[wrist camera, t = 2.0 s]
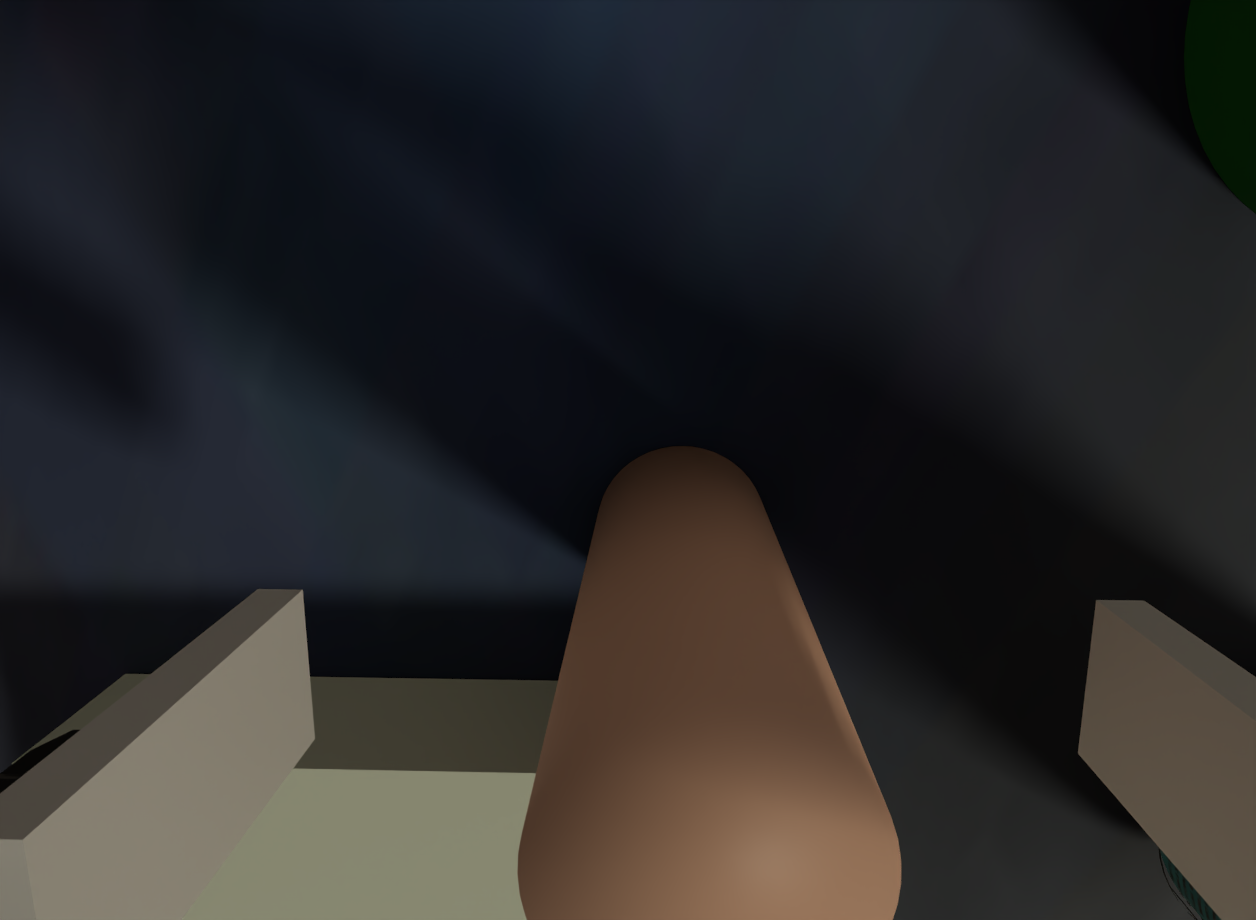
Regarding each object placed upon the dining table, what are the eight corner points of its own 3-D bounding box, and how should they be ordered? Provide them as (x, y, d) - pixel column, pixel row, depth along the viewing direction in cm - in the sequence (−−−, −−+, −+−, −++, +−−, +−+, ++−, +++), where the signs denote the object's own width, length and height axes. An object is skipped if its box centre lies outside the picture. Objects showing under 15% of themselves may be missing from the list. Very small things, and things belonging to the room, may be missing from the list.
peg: (596, 444, 20) (511, 700, 9) (768, 446, 20) (915, 706, 9) (597, 605, 21) (523, 1030, 10) (762, 607, 21) (888, 1041, 10)
